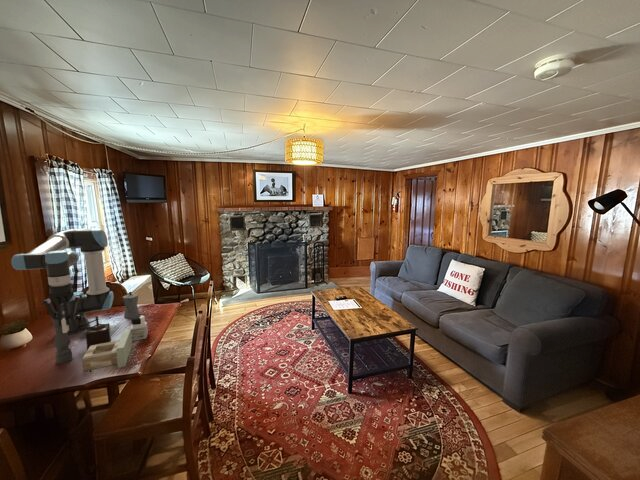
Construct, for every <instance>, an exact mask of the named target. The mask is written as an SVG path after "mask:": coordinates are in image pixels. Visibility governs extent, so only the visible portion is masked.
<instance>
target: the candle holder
mask: <svg viewBox="0 0 640 480" xmlns="http://www.w3.org/2000/svg"><path fill="white" fill-rule="evenodd" d="M63 316H64V317H63V318H65V312H64V311H63ZM50 317H51V316H50ZM51 322H52V323H53V327H52V328H53V329H54V330H55V338H54V343H53V347H54V348H55V349H56V352H55V356H54V358H55V364H58V365H59V364H65V363H68V362H70V361H72V360H73V351H72V348H70V346H69V345H71V341H72V340H71V338H70V336H69V334H67V333H63V331H62V326H59V321H58V320H57V319H55V320H53V319H52V317H51Z"/></svg>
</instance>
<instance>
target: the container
mask: <svg viewBox="0 0 640 480" xmlns="http://www.w3.org/2000/svg"><path fill="white" fill-rule="evenodd" d="M145 318H146V317H145V315H141V314H139V316H135V317H133V318H131V326H130V328H129V329H131V338H132V342H134V341H139V340H145V339H147V338H148V331H149V330H148V322H147V321H146V319H145Z"/></svg>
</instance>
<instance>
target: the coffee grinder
mask: <svg viewBox="0 0 640 480" xmlns="http://www.w3.org/2000/svg"><path fill="white" fill-rule="evenodd" d="M74 320H76V321H77V323H80V325H85V324H89V323H90V324H91V323H94V322H95V324H94V325H93V326H92V325H91V326H90V327H88V328H87V329H86V330H85V340H86V351H87V350H88V349H89V347H90V346H91V345H97V344H102V343H108V342H112V336H111V328H110V323H109V322H107V323H100V322H99V320H100V319H99V316H95V319H94V320H90V321H89V322H87V323H82V322H83V320H82V315H76V316H75V317H74Z"/></svg>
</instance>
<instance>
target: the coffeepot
mask: <svg viewBox="0 0 640 480" xmlns="http://www.w3.org/2000/svg"><path fill="white" fill-rule="evenodd" d="M138 300H139V294H138V293H132V291H130V292H127V294H126V295H123V296H122V301H123V305H124V307H125V309H124V315H123V317H124V319H129V318H130V319H132V318H133V317H135V316H139V315H141V314H140V310H139V306H138V303H139V301H138Z"/></svg>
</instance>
